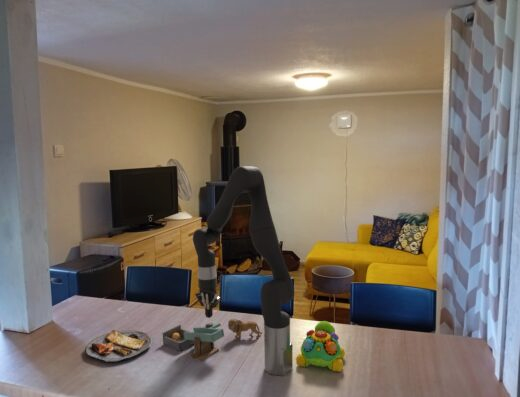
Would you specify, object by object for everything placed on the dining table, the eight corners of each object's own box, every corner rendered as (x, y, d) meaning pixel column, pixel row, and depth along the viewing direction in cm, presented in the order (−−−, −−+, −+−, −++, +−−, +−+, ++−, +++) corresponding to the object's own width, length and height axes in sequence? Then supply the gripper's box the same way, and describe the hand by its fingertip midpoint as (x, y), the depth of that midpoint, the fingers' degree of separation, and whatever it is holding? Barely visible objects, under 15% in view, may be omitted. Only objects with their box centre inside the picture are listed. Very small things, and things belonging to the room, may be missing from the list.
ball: (181, 333, 170) (176, 330, 171) (175, 336, 167) (170, 333, 169) (181, 340, 170) (176, 337, 172) (175, 343, 168) (170, 340, 170)
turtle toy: (346, 346, 164) (347, 318, 162) (342, 378, 142) (342, 346, 140) (304, 341, 169) (304, 314, 167) (293, 372, 146) (293, 341, 145)
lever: (241, 326, 164) (239, 319, 164) (213, 342, 152) (211, 334, 152) (212, 325, 174) (211, 318, 174) (183, 339, 162) (182, 332, 162)
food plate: (73, 354, 161) (72, 345, 160) (119, 330, 181) (118, 323, 181) (119, 371, 149) (119, 362, 149) (163, 344, 170) (162, 336, 169)
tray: (197, 342, 169) (196, 331, 168) (180, 351, 162) (179, 339, 161) (180, 335, 175) (179, 324, 174) (163, 344, 168) (162, 332, 167)
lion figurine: (230, 343, 168) (229, 322, 167) (226, 337, 173) (226, 317, 172) (263, 337, 173) (263, 316, 172) (259, 331, 178) (259, 312, 177)
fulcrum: (219, 350, 162) (218, 331, 161) (200, 361, 154) (200, 341, 153) (208, 346, 166) (207, 327, 165) (189, 356, 158) (188, 336, 157)
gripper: (225, 276, 166) (227, 317, 168) (202, 271, 174) (204, 310, 176) (212, 281, 160) (214, 324, 162) (189, 275, 168) (191, 316, 170)
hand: (208, 316), depth 169 cm, fingers closed
